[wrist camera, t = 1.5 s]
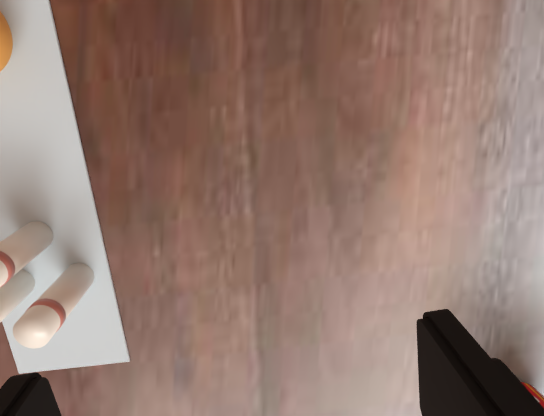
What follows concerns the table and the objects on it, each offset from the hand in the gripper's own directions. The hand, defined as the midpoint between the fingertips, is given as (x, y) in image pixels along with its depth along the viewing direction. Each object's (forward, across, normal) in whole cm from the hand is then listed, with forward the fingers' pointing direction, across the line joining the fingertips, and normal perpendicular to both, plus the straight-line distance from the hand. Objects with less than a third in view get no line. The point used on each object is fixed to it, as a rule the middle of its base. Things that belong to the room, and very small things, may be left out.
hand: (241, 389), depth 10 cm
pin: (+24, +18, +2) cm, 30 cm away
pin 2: (+24, +15, +7) cm, 30 cm away
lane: (+24, +17, 0) cm, 30 cm away
